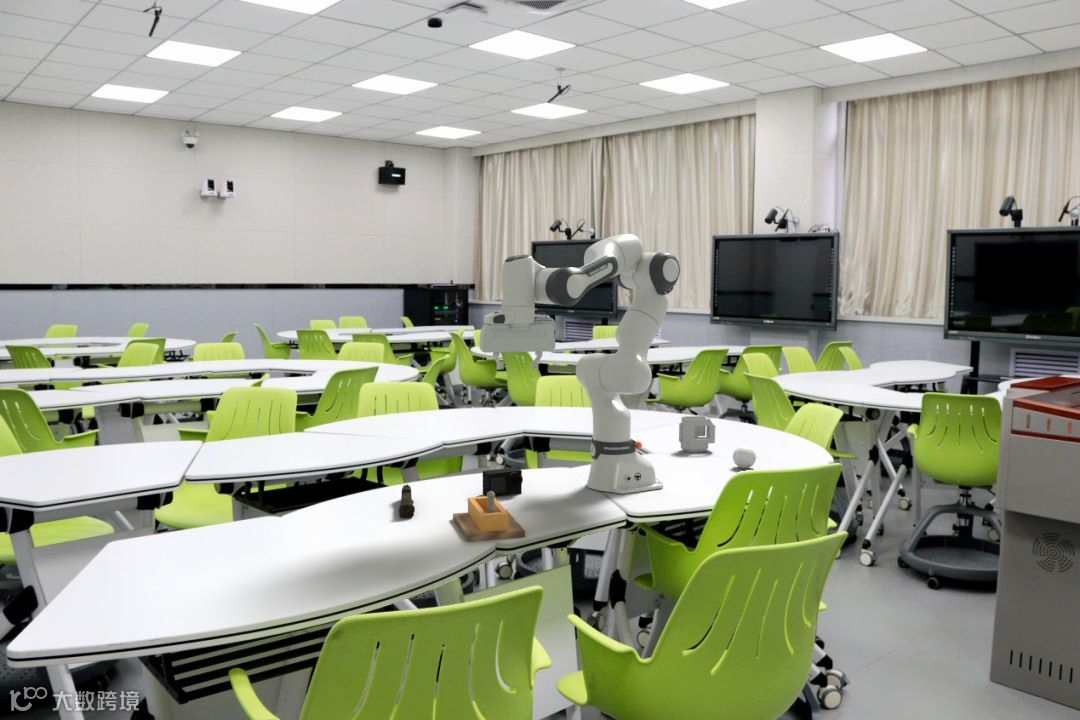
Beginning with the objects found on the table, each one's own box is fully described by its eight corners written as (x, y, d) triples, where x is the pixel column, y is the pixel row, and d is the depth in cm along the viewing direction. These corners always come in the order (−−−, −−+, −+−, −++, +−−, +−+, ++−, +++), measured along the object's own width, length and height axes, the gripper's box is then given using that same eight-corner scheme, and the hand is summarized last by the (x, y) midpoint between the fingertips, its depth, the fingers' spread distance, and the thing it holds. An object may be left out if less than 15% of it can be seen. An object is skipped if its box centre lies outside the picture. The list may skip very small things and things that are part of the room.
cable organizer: (715, 452, 289) (716, 418, 288) (681, 453, 287) (682, 419, 286) (709, 448, 296) (710, 415, 294) (675, 449, 294) (676, 416, 293)
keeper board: (506, 515, 212) (506, 477, 211) (525, 536, 195) (525, 495, 194) (452, 519, 208) (452, 480, 207) (467, 541, 191) (467, 499, 190)
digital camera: (490, 499, 227) (490, 474, 226) (482, 494, 232) (482, 470, 231) (523, 495, 232) (523, 470, 231) (515, 490, 237) (515, 466, 236)
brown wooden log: (414, 519, 209) (414, 501, 209) (398, 519, 209) (398, 501, 208) (416, 499, 228) (416, 482, 227) (402, 499, 227) (402, 483, 227)
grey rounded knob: (756, 471, 262) (757, 448, 261) (732, 470, 263) (733, 447, 262) (754, 464, 271) (755, 442, 271) (731, 463, 273) (732, 441, 272)
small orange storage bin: (493, 510, 211) (493, 495, 210) (508, 529, 196) (508, 513, 195) (467, 512, 209) (467, 497, 208) (481, 532, 194) (481, 515, 193)
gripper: (551, 315, 222) (551, 366, 223) (477, 316, 216) (477, 368, 218) (559, 317, 216) (558, 369, 217) (483, 317, 210) (483, 371, 212)
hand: (517, 368), depth 217 cm, fingers open, 8 cm apart
